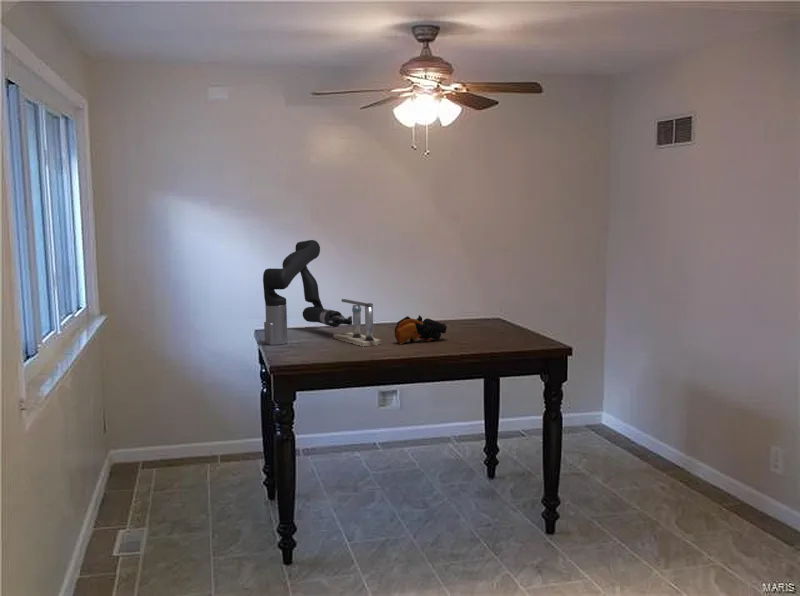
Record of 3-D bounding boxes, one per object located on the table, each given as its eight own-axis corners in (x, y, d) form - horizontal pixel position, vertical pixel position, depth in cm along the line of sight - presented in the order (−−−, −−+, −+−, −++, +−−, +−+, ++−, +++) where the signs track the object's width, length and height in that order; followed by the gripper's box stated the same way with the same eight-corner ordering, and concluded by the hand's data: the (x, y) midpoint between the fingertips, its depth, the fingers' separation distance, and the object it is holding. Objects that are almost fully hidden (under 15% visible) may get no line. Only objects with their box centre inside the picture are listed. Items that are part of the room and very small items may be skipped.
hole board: (363, 347, 329) (363, 342, 329) (333, 338, 349) (333, 334, 349) (382, 344, 335) (382, 339, 335) (351, 336, 355) (351, 332, 355)
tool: (438, 358, 340) (450, 326, 340) (394, 342, 332) (406, 309, 332) (431, 354, 348) (443, 323, 348) (387, 338, 340) (399, 307, 339)
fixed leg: (368, 341, 332) (367, 304, 330) (340, 333, 351) (339, 298, 348) (374, 340, 334) (374, 303, 332) (346, 333, 353) (345, 298, 350)
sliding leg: (355, 337, 339) (355, 306, 338) (351, 336, 343) (350, 305, 341) (363, 336, 342) (362, 305, 340) (358, 335, 345) (357, 304, 343)
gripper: (318, 311, 355) (337, 315, 341) (342, 308, 363) (362, 313, 349) (318, 327, 356) (338, 332, 342) (343, 324, 364) (363, 329, 350)
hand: (350, 322), depth 345 cm, fingers closed
